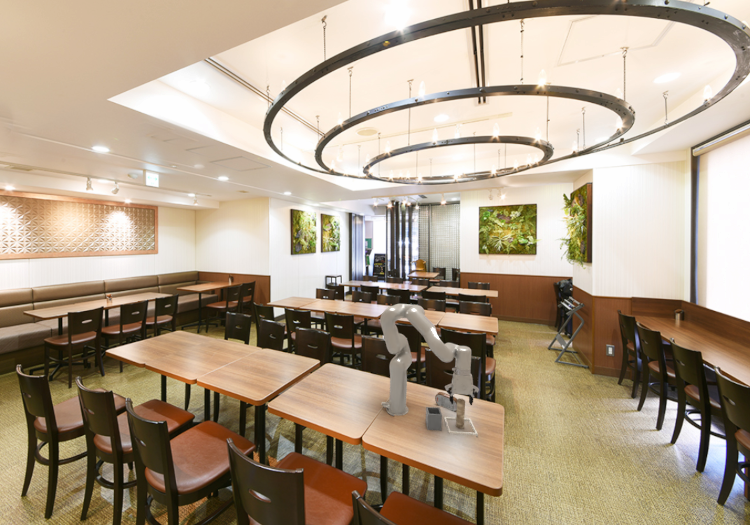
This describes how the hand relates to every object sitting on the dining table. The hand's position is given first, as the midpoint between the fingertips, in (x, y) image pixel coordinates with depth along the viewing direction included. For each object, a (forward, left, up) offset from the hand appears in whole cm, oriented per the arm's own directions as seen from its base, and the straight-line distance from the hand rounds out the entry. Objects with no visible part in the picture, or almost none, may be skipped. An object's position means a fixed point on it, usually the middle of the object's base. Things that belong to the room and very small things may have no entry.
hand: (461, 403), depth 148 cm
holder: (-14, -1, -13) cm, 19 cm away
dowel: (0, 0, -12) cm, 13 cm away
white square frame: (0, 0, -13) cm, 13 cm away
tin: (-3, +18, -14) cm, 23 cm away
